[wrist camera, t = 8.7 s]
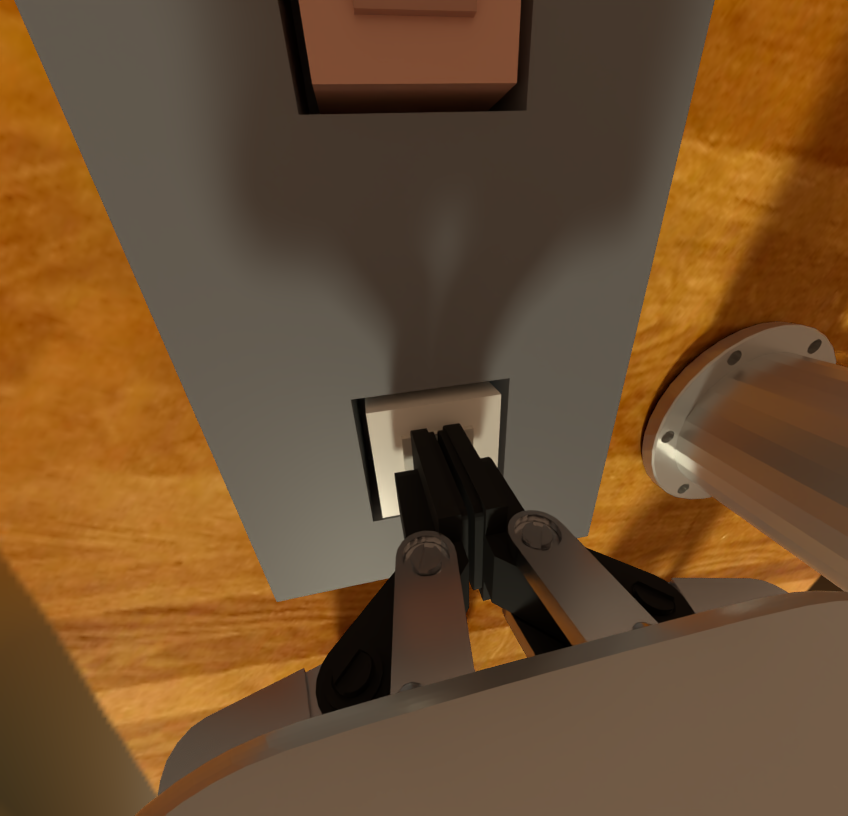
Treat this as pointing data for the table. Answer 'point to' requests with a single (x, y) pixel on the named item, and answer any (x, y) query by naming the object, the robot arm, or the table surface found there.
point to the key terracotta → (411, 54)
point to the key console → (379, 245)
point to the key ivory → (428, 427)
